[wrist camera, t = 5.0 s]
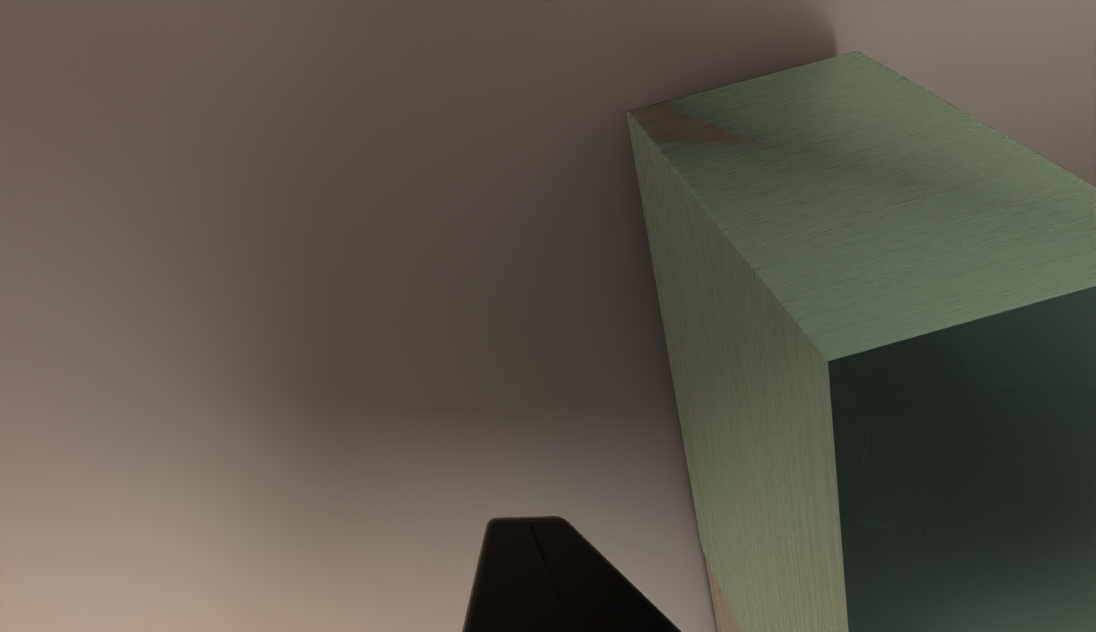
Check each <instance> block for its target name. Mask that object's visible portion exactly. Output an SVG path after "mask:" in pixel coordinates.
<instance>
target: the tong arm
mask: <svg viewBox="0 0 1096 632" xmlns="http://www.w3.org/2000/svg"><path fill="white" fill-rule="evenodd" d="M626 113H627V119H628V125H629V131H630V137H631V142H632V148H633V154H634V160H635V165H636V171H637V177H638V183H639V189H640V194H641V200H642V206H643V212H644V218H645V223H646V229H647V235H648V241H649V246H650V252H651V258H652V264H653V270H654V275H655V281H656V287H657V293H658V299H659V304H660V310H661V316H662V322H663V327H664V333H665V339H666V345H667V351H668V356H669V362H670V368H671V374H672V380H673V385H674V391H675V397H676V403H677V408H678V414H679V420H680V426H681V432H682V437H683V443H684V449H685V455H686V461H687V466H688V472H689V478H690V484H691V489H692V495H693V501H694V507H695V513H696V518H697V524H698V530H699V536H700V542H701V546H702V548H703V550H704V554H705V560H706V566H707V572H708V577H709V583H710V589H711V595H712V601H713V607H714V612H715V618H716V624H717V630H718V632H1096V187H1094V186H1093V185H1091V184H1089V183H1087V182H1086V181H1084V180H1082V179H1080V178H1079V177H1077V176H1075V175H1073V174H1072V173H1070V172H1068V171H1066V170H1065V169H1063V168H1061V167H1059V166H1058V165H1056V164H1054V163H1052V162H1051V161H1049V160H1047V159H1045V158H1044V157H1042V156H1040V155H1039V154H1037V153H1035V152H1033V151H1032V150H1030V149H1028V148H1026V147H1025V146H1023V145H1021V144H1019V143H1018V142H1016V141H1014V140H1012V139H1011V138H1009V137H1007V136H1005V135H1004V134H1002V133H1000V132H998V131H997V130H995V129H993V128H991V127H990V126H988V125H986V124H984V123H983V122H981V121H979V120H977V119H976V118H974V117H972V116H970V115H969V114H967V113H965V112H963V111H962V110H960V109H958V108H956V107H955V106H953V105H951V104H949V103H948V102H946V101H944V100H942V99H941V98H939V97H937V96H935V95H934V94H932V93H930V92H928V91H927V90H925V89H923V88H921V87H920V86H918V85H916V84H915V83H913V82H911V81H909V80H908V79H906V78H904V77H902V76H901V75H899V74H897V73H895V72H894V71H892V70H890V69H888V68H887V67H885V66H883V65H881V64H880V63H878V62H876V61H874V60H873V59H871V58H869V57H867V56H866V55H864V54H862V53H860V52H859V51H855V52H851V53H847V54H843V55H839V56H836V57H832V58H828V59H824V60H821V61H817V62H813V63H809V64H805V65H802V66H798V67H794V68H790V69H787V70H783V71H779V72H775V73H771V74H768V75H764V76H760V77H756V78H753V79H749V80H745V81H741V82H737V83H734V84H730V85H726V86H722V87H719V88H715V89H711V90H707V91H703V92H700V93H696V94H692V95H688V96H685V97H681V98H677V99H673V100H669V101H666V102H662V103H658V104H654V105H651V106H647V107H643V108H639V109H635V110H632V111H628V112H626Z"/></svg>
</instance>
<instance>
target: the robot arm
mask: <svg viewBox="0 0 1096 632" xmlns="http://www.w3.org/2000/svg"><path fill="white" fill-rule="evenodd" d="M462 632H681V631H680V630H679V629H678V628H677V627H676V626H675V625H674V624H673V623H672V622H671V621H670V620H669V619H668V618H667V617H666V616H665V615H664V614H663V613H662V612H661V611H660V610H659V609H657V608H656V607H655V606H654V605H653V604H652V603H651V602H650V601H649V600H648V599H647V598H646V597H645V596H644V595H643V594H642V593H641V592H640V591H639V590H638V589H637V588H636V587H635V586H634V585H633V584H632V583H631V582H630V581H629V580H628V579H627V578H626V577H625V576H623V575H622V574H621V573H620V572H619V571H618V570H617V569H616V568H615V567H614V566H613V565H612V564H611V563H610V562H609V561H608V560H607V559H606V558H605V557H604V556H603V555H602V554H601V553H600V552H599V551H598V550H597V549H596V548H595V547H594V546H593V545H592V544H591V543H589V542H588V541H587V540H586V539H585V538H584V537H583V536H582V535H581V534H580V533H579V532H578V531H577V530H576V529H575V528H574V527H573V526H572V525H571V524H570V523H569V522H568V521H566V520H565V519H563V518H561V517H558V516H541V517H505V518H492V519H491V520H489V522H488V523H487V526H486V529H485V534H484V538H483V543H482V547H481V551H480V556H479V560H478V565H477V569H476V573H475V578H474V582H473V586H472V591H471V595H470V600H469V604H468V608H467V613H466V617H465V622H464V626H463V630H462Z"/></svg>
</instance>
